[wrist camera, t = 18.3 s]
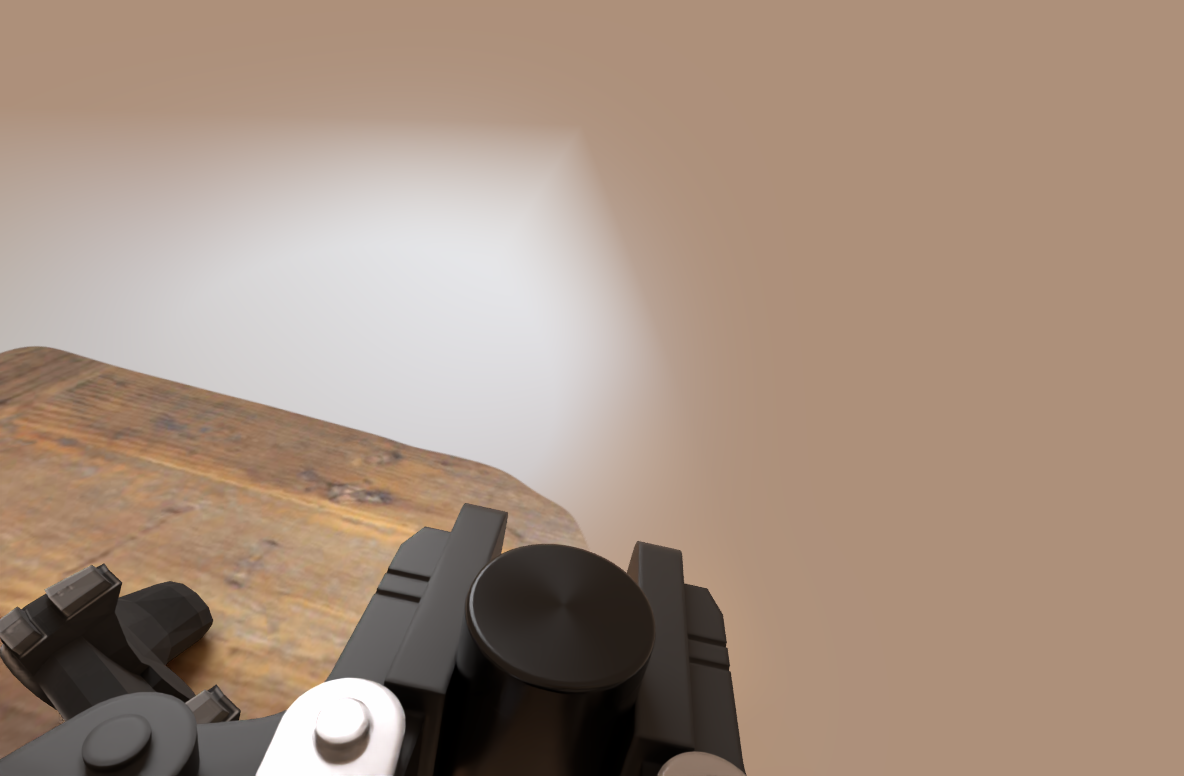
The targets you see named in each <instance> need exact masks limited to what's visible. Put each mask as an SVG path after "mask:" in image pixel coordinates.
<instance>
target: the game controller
mask: <svg viewBox="0 0 1184 776" xmlns="http://www.w3.org/2000/svg"><path fill="white" fill-rule="evenodd" d="M121 585H122V582H121V581H120V580H119V579H118V578H117V577H116V576H115V575H114V574H113V573H112V572H110V571H109V570H108V568H107V567H106V565H105V564H102V565H100V566H98V567H94V566H93V565H91V566H89V567H87V568H85V569H83V570H81V571H79V572H77V573H75V574H73V575H71V576H70V577H68V578H66V579H64V580H62V581H60V582H58V583H56V584H54V585H52V586H50V587H48V588H46V589H45V592H46V593H47V594H45V595H43V596H41V597H39V598H38V599H36V600H35V601H33V602H31V603H30V604H28V605H27V606H25V607H24V608H23V609H20V608H18V607H16V608H15V609H13V610H12V611H11V612H9V613H8V614H7V615H5V616H4V617H3V618H1V619H0V639H1V641H2V642H3V645H2V646H1V648H0V657H1V658H2V660H3V662H4V663H5V665H6V666H7V668H8V669H9V670H10V671H11V673H12V674H13V675H14V676H15V677H16V678H17V679H18V680H19V681H20V682H21V683H22V684H23V685H24V686H25V687H26V688H28V689H29V690H30V691H31V692H32V693H34V694H35V695H36V696H37V697H39V698H40V699H41V700H43V701H44V702H45V703H47V704H48V705H50V706H51V707H53V708H54V709H56V710H58V712H59V713H60V714H61V716H62V717H63V719H64V720H65V721H68V720H69V719H71V718H73V717H74V716H76V715H78V714H80V713H81V712H83V711H85V710H87V709H89V708H91V707H93V706H95V705H96V704H98V703H101V702H103V701H106V700H109V699H111V698H114V697H118V696H122V695H125V694H131V693H137V692H158V693H164V694H168V695H172V696H174V697H176V698H178V699H180V700H182V701H183V702H184V703H185V704H187V705H188V706H189V708H190V709H191V710H192V712H193V714H194V716H195V719H196V724H207V723H218V722H229V721H239V717H240V712H241V710H240V709H238V708H237V707H236V706H235V705H234V704H233V703H232V702H231V701H230V700H229V699H228V698H227V697H226V696H225V695H224V694H223V693H222V691H221V690H220V689H219V687H218V686H217V684H216V685H215V686H214V687H212V688H211V689H209V690H208V691H206V690H204V691H202V692H201V693H199V694H198V695H195V694H194V692H193V691H192V690H191V688H190V687H189V686H188V685H187V684H186V683H185V682H184V681H183V680H182V679H181V678H180V677H178V676H177V675H176V674H175V673H174V672H172V671H171V670H170V669H169V668H168V667H167V666H166V664H167V663H168V662H169V661H171V660H172V659H173V658H175V657H176V656H178V655H179V654H180V653H182V652H183V651H184V650H186V649H187V648H189V647H190V646H191V645H193V644H194V643H196V642H197V641H198V640H200V639H201V638H202V637H203V636H204V635H205V633H206V632H207V631H208V630H209V628H210V627H211V625H212V623H213V619H212V616H211V613H210V610H209V607H208V606H207V605H206V604H205V602H204V601H203V600H202V599H201V598H200V597H199V595H198V594H197V593H196V592H194V591H193V590H191V589H190V588H188V587H187V586H185V585H184V584H181V583H176V582H171V581H168V582H164V583H160V584H156V585H153V586H151V587H148V588H145V589H142V590H139V591H136V592H134V593H131V594H128V595H125V596H122V597H119V594H120V590H121Z"/></svg>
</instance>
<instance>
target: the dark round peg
mask: <svg viewBox="0 0 1184 776" xmlns="http://www.w3.org/2000/svg"><path fill="white" fill-rule="evenodd" d="M655 638H656V626H655V619H654V615H653V611H652V608H651V605H650V603H649V601H648V599H647V597H646V595H645V594H644V592H643V590H642V589H641V588H640V586H639V585H638V584H637V583H636V582H635V581H634V580H633V579H632V577H631V576H629V575H628V574H627V573H626V572H625V571H624V570H622V569H621V568H620V567H618V566H617V565H615V564H614V563H612V562H610V561H609V560H607V559H605V558H603V557H601V556H599V555H597V554H595V553H592V552H589V551H586V550H583V549H580V548H576V547H571V546H566V545H557V544H536V545H528V546H523V547H519V548H515V549H512V550H509V551H507V552H505V553H502V554H501V555H499V556H497V557H495V558H494V559H492V560H491V561H490V562H489V563H487V564H486V565H485V566H484V567H483V568H482V569H481V570H480V571H479V573H478V574H477V575H476V577H475V578H474V579H473V581H472V583H471V585H470V587H469V589H468V592H467V595H466V599H465V605H464V611H463V618H462V624H461V630H460V637H459V643H458V649H457V658H456V666H455V672H454V678H453V684H452V691H451V697H450V703H449V709H448V716H447V722H446V728H445V735H444V741H443V747H442V753H441V760H440V766H439V772H438V776H610V775H611V772H612V769H613V767H614V764H615V761H616V758H617V755H618V752H619V749H620V746H621V743H622V740H623V737H624V734H625V731H626V728H627V725H628V722H629V719H630V716H631V713H632V710H633V707H634V704H635V702H636V699H637V696H638V693H639V690H640V687H641V684H642V681H643V678H644V675H645V672H646V669H647V666H648V663H649V660H650V657H651V654H652V651H653V648H654V644H655Z"/></svg>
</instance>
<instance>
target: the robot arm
mask: <svg viewBox="0 0 1184 776" xmlns="http://www.w3.org/2000/svg"><path fill="white" fill-rule="evenodd" d="M507 518H508V512H505V511H500V510H495V509H491V508H486V507H482V506H477V505H473V504H468V503H465V504H464V505H463V507H462V509H461V511H460V513H459V515H458V518H457V520H456V522H455V524H454V527H453V529H452V531H451V532H448V531H443V530H439V529H434V528H429V527H424V528H423V529H421V530H420V531H419V532H417V533H416V534H415V535H413V536H412V537H410V538H409V539H408V540H406V541H405V542H404V543H402V544H401V546H400V548H399V549H398V551H397V553H396V555H395V557H394V559H393V560H392V562H391V564H390V566H389V568H388V571H387V573H385V575H384V577H383V579H382V581H381V582H380V584H379V586H378V588H377V591H376V594H374V595H373V597H372V599H371V601H370V603H369V604H368V606H367V608H366V610H365V612H364V613H363V615H362V617H361V619H360V621H359V623H358V624H357V626H356V628H355V630H354V632H353V634H352V635H351V637H350V639H349V641H348V643H347V645H346V646H345V648H344V650H343V652H342V654H341V656H340V657H339V659H338V661H337V663H336V665H335V667H334V668H333V670H332V672H331V674H330V675H329V677H328V678H327V680H326V681H325V682H324V683H323V684H321V685H318V686H316V687H314V688H312V689H311V690H309V691H307V692H306V693H305V694H303V695H302V696H300V697H299V698H298V699H297V700H296V701H295V702H294V703H293V704H292V705H291V706H290V707H289V709H288V710H285V711H283V712H280V713H278V714H275V715H271V716H267V717H264V718H257V719H250V720H240V721H229V722H218V723H207V724H196V719H195V716H194V714H193V712H192V710H191V709H190V708H189V706H188V705H187V704H185V703H184V702H183V701H182V700H180V699H178V698H176V697H174V696H172V695H168V694H164V693H158V692H137V693H131V694H125V695H122V696H118V697H114V698H111V699H109V700H106V701H103V702H101V703H98V704H96V705H95V706H93V707H91V708H89V709H87V710H85V711H83V712H81V713H80V714H78V715H76V716H74V717H73V718H71V719H69V720H68V721H66V722H64V723H62V724H61V725H59V726H57V727H55V728H54V729H52V730H50V731H49V732H47V733H45V734H43V735H42V736H40V737H38V738H36V739H35V740H33V741H31V742H30V743H28V744H26V745H24V746H23V747H21V748H19V749H17V750H16V751H14V752H12V753H11V754H9V755H7V756H5V757H4V758H2V759H0V776H438V772H439V766H440V760H441V753H442V747H443V741H444V735H445V728H446V722H447V716H448V709H449V703H450V697H451V691H452V684H453V678H454V672H455V666H456V658H457V649H458V643H459V637H460V630H461V624H462V618H463V611H464V605H465V599H466V595H467V592H468V589H469V587H470V585H471V583H472V581H473V579H474V578H475V577H476V575H477V574H478V573H479V571H480V570H481V569H482V568H483V567H484V566H485V565H486V564H487V563H489V562H490V561H491V560H492V559H494V558H495V557H497V556H499V555H501V551H502V546H503V540H504V535H505V529H506V524H507ZM627 574H628V575H629V576H631V577H632V579H633V580H634V581H635V582H636V583H637V584H638V585H639V586H640V588H641V589H642V590H643V592H644V594H645V595H646V597H647V599H648V601H649V603H650V605H651V608H652V611H653V615H654V619H655V626H656V638H655V644H654V648H653V651H652V654H651V657H650V660H649V663H648V666H647V669H646V672H645V675H644V678H643V681H642V684H641V687H640V690H639V693H638V696H637V699H636V702H635V704H634V707H633V710H632V713H631V716H630V719H629V722H628V725H627V728H626V731H625V734H624V737H623V740H622V743H621V746H620V749H619V752H618V755H617V758H616V761H615V764H614V767H613V769H612V772H611V775H610V776H746V773H745V769H744V764H743V759H742V751H741V744H740V737H739V729H738V722H737V715H736V708H735V700H734V693H733V685H732V679H731V672H730V671H729V666H730V664H729V656H728V649H727V648H726V643H727V641H726V634H725V627H724V619H723V614H722V613H721V611H720V609H719V607H718V606H717V604H716V603H715V601H714V599H713V597H712V596H711V594H710V592H709V591H708V589H707V588H702V587H698V586H693V585H688V584H684V576H683V561H682V553H681V551H680V550H676V549H672V548H668V547H663V546H658V545H654V544H649V543H645V542H640V541H637V543H636V545H635V547H634V550H633V553H632V557H631V560H630V564H629V567H628V570H627Z"/></svg>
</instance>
